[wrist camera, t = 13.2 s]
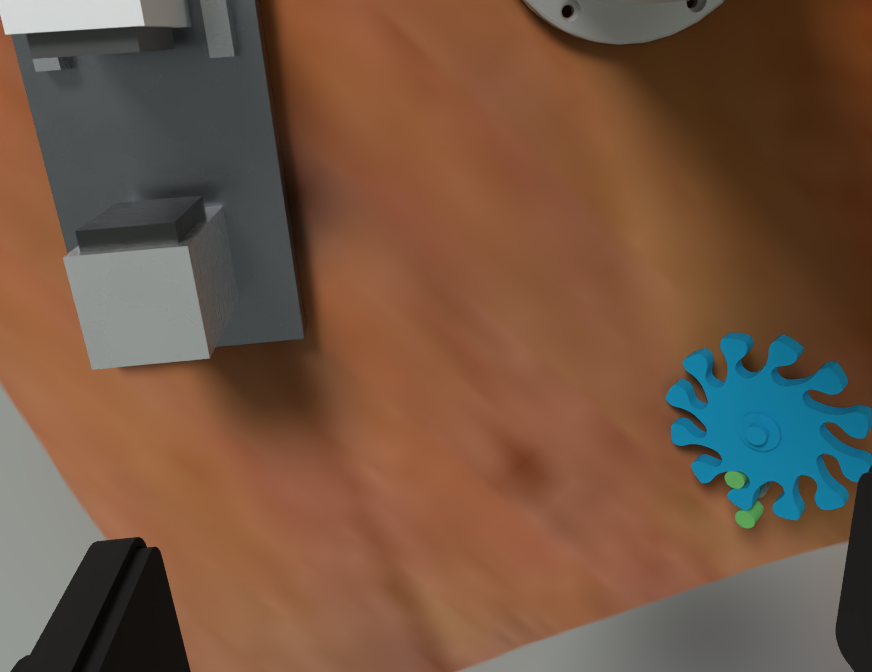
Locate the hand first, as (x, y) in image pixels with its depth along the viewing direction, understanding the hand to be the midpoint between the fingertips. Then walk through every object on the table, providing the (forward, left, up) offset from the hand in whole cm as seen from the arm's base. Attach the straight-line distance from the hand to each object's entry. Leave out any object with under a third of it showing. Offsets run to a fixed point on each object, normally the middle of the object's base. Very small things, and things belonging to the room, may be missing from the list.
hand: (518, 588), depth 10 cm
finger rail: (+11, -4, -28) cm, 31 cm away
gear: (-16, +13, -29) cm, 35 cm away
